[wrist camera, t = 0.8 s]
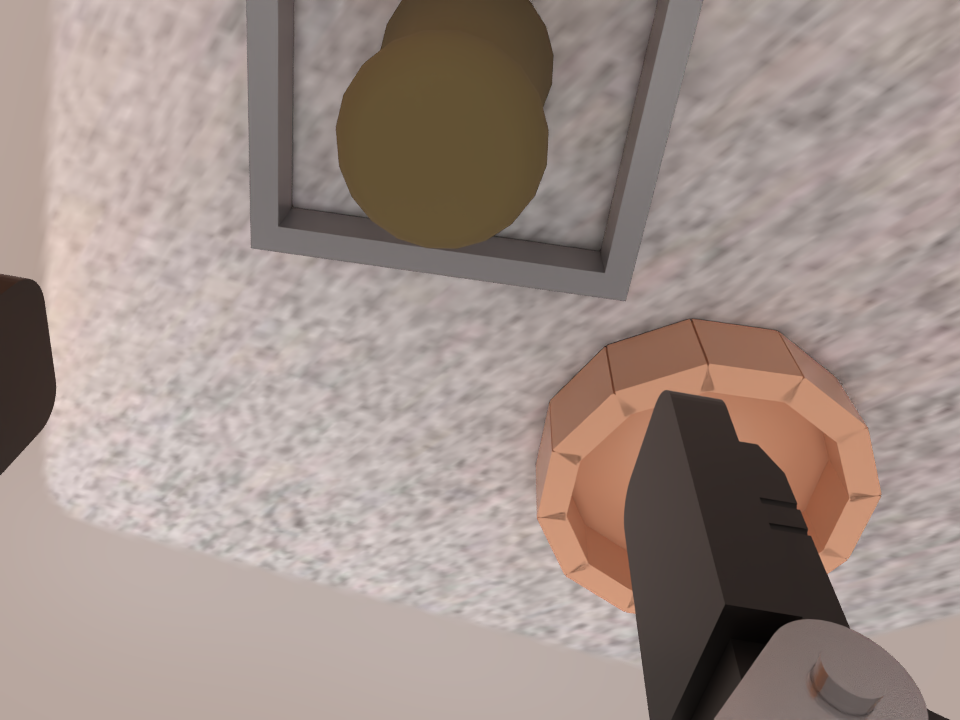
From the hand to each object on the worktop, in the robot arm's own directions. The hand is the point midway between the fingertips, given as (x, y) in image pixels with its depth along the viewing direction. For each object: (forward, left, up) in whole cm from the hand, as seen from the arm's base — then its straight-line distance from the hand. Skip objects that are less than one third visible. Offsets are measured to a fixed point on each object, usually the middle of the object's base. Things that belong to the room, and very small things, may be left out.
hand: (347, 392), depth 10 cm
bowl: (-12, +15, -20) cm, 28 cm away
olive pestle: (0, 0, -20) cm, 20 cm away
